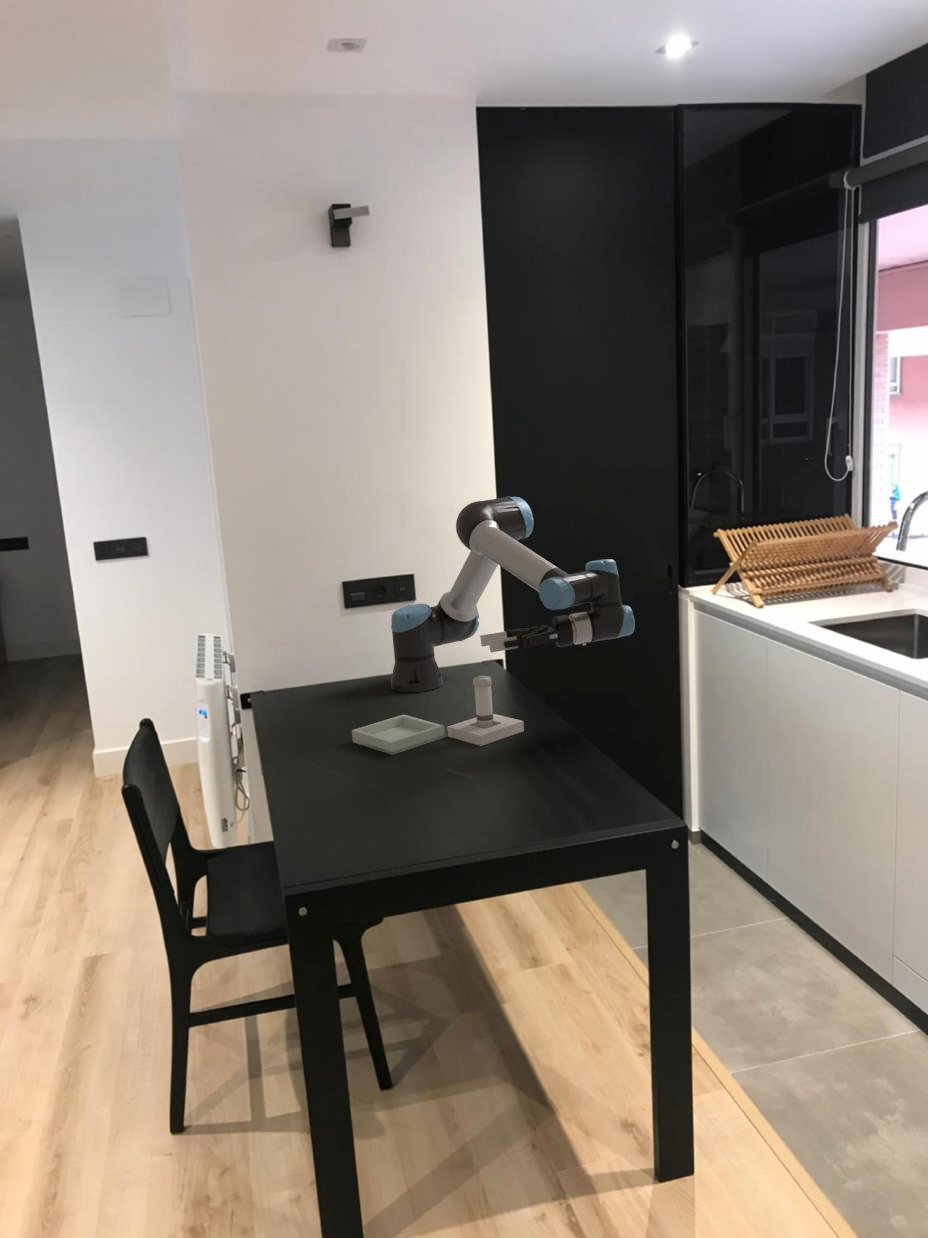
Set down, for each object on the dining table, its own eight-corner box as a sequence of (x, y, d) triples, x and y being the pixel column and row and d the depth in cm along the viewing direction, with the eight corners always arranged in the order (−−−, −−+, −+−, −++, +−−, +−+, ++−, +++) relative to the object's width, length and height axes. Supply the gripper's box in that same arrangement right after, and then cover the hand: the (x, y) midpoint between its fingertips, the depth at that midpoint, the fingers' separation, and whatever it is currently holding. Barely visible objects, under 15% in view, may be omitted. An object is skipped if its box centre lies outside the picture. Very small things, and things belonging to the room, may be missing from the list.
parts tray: (404, 725, 255) (403, 714, 254) (445, 737, 243) (444, 725, 242) (352, 742, 245) (351, 730, 244) (392, 755, 233) (391, 742, 232)
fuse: (486, 730, 247) (482, 674, 244) (498, 733, 243) (495, 677, 241) (473, 734, 244) (469, 678, 241) (485, 737, 241) (481, 681, 238)
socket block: (490, 722, 253) (489, 712, 252) (524, 731, 244) (523, 721, 243) (448, 736, 244) (447, 726, 243) (481, 746, 235) (480, 735, 234)
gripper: (585, 650, 232) (496, 665, 230) (560, 640, 257) (479, 653, 255) (581, 618, 232) (491, 633, 229) (556, 611, 256) (475, 624, 254)
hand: (485, 643), depth 242 cm, fingers open, 13 cm apart
